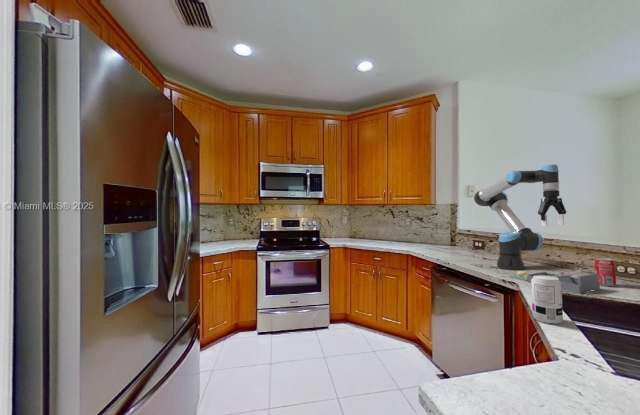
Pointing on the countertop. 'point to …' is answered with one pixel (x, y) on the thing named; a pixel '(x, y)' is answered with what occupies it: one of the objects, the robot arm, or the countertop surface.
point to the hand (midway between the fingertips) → (552, 225)
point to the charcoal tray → (574, 282)
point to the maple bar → (523, 274)
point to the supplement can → (547, 299)
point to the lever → (568, 274)
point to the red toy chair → (605, 271)
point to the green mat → (518, 277)
